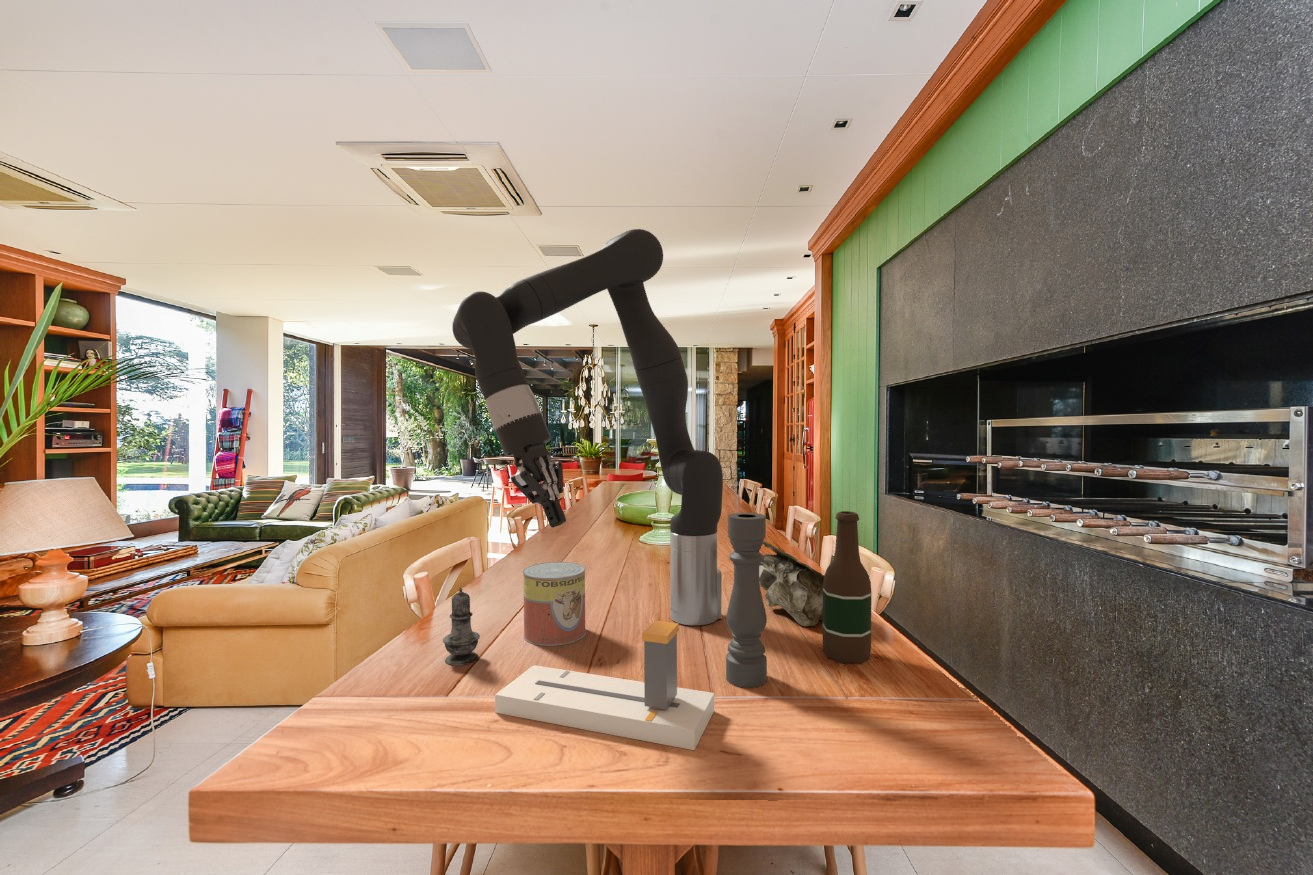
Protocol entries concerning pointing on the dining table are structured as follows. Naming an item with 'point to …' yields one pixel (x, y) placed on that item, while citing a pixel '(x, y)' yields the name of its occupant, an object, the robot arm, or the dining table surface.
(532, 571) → the canned food
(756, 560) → the candle holder
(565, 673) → the fader console
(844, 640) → the beer bottle
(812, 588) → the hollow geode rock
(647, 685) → the fader knob
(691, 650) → the dining table surface
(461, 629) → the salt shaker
